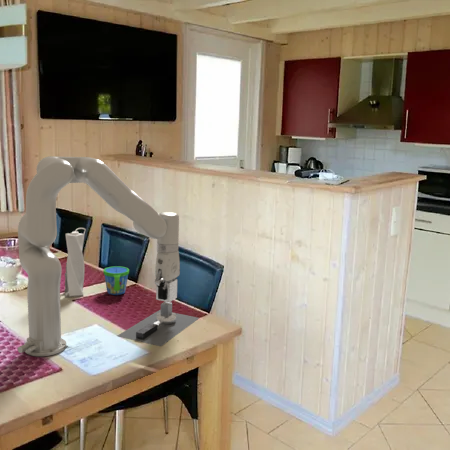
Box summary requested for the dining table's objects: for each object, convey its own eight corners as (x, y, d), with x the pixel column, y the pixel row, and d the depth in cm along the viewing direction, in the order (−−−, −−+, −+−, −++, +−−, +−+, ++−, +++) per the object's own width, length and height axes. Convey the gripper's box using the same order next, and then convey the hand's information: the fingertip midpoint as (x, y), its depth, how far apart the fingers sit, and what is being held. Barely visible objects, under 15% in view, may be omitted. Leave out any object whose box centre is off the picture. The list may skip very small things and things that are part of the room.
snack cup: (128, 299, 210) (128, 275, 208) (101, 299, 208) (101, 275, 206) (129, 286, 225) (130, 264, 223) (105, 286, 223) (105, 264, 221)
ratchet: (148, 341, 169) (149, 321, 167) (130, 337, 171) (130, 317, 170) (179, 320, 188) (179, 302, 186) (162, 316, 190) (163, 298, 189)
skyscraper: (85, 290, 218) (84, 225, 212) (87, 296, 210) (86, 229, 205) (64, 292, 215) (63, 226, 209) (65, 298, 207) (64, 230, 202)
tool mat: (160, 348, 165) (160, 346, 165) (116, 338, 172) (116, 335, 172) (199, 319, 191) (199, 317, 191) (159, 311, 197) (159, 309, 197)
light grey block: (169, 302, 181) (169, 283, 179) (156, 299, 183) (156, 280, 181) (176, 297, 186) (177, 279, 184) (163, 295, 188) (164, 276, 186)
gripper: (164, 254, 171) (163, 305, 175) (188, 244, 187) (186, 291, 190) (145, 251, 174) (144, 302, 178) (170, 241, 190) (169, 288, 193)
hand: (166, 296), depth 184 cm, fingers closed on light grey block, 5 cm apart
